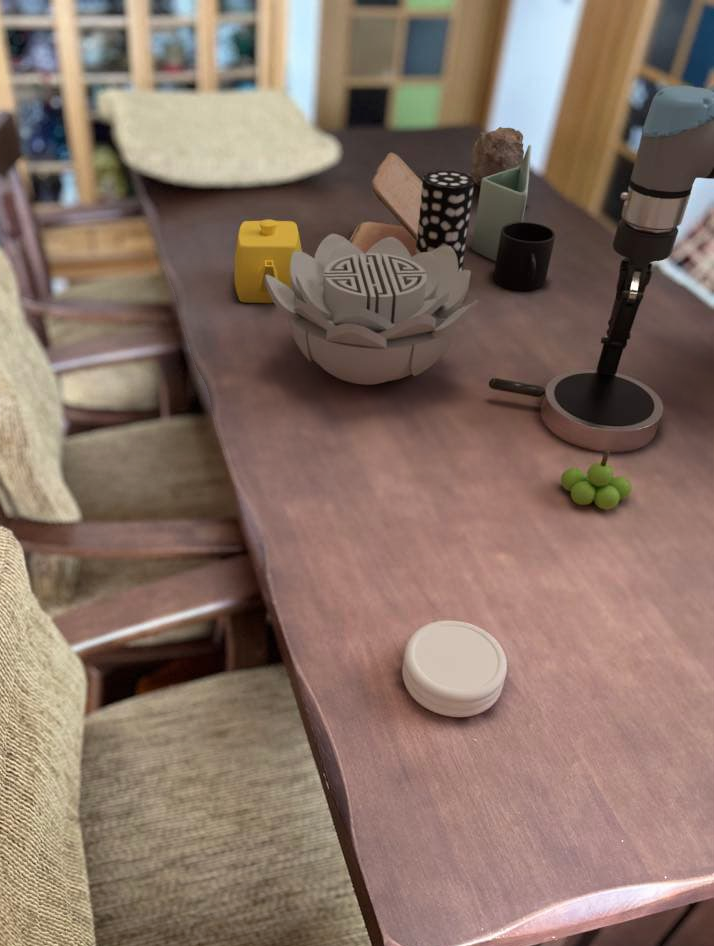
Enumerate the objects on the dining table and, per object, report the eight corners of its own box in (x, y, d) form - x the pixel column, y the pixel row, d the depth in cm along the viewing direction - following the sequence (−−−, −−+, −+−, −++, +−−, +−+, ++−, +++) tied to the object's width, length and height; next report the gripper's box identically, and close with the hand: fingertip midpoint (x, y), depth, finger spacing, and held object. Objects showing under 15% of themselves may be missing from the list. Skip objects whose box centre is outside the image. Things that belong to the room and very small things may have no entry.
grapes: (628, 492, 105) (645, 444, 100) (627, 518, 101) (644, 470, 96) (559, 479, 107) (572, 431, 102) (556, 505, 103) (569, 456, 98)
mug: (501, 298, 146) (510, 248, 140) (488, 269, 155) (496, 221, 149) (554, 298, 146) (565, 248, 140) (538, 269, 155) (548, 221, 149)
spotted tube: (465, 291, 148) (482, 176, 134) (446, 309, 142) (462, 191, 129) (423, 281, 151) (435, 167, 138) (403, 298, 146) (414, 181, 132)
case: (445, 281, 151) (456, 192, 140) (334, 267, 155) (337, 179, 144) (460, 239, 166) (472, 155, 155) (359, 227, 170) (363, 145, 159)
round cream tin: (502, 727, 78) (508, 704, 76) (397, 711, 79) (400, 688, 77) (502, 647, 85) (507, 625, 83) (406, 634, 86) (409, 611, 84)
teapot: (304, 315, 140) (305, 247, 132) (232, 315, 140) (228, 247, 132) (303, 266, 155) (303, 203, 147) (237, 266, 155) (234, 202, 147)
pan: (656, 401, 121) (664, 379, 119) (654, 462, 110) (663, 439, 108) (494, 372, 127) (498, 352, 124) (476, 428, 115) (480, 406, 113)
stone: (532, 213, 177) (546, 138, 167) (488, 215, 176) (500, 140, 166) (499, 178, 193) (510, 108, 183) (458, 180, 192) (467, 109, 182)
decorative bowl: (264, 321, 138) (262, 233, 128) (438, 318, 140) (450, 230, 130) (270, 422, 116) (268, 324, 106) (478, 416, 118) (495, 319, 108)
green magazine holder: (471, 233, 168) (486, 129, 155) (510, 236, 167) (528, 131, 154) (471, 266, 156) (488, 156, 143) (514, 269, 155) (534, 159, 142)
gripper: (621, 201, 112) (580, 355, 128) (617, 237, 103) (574, 398, 119) (679, 208, 111) (630, 363, 126) (680, 245, 101) (628, 407, 117)
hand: (603, 380), depth 123 cm, fingers closed
